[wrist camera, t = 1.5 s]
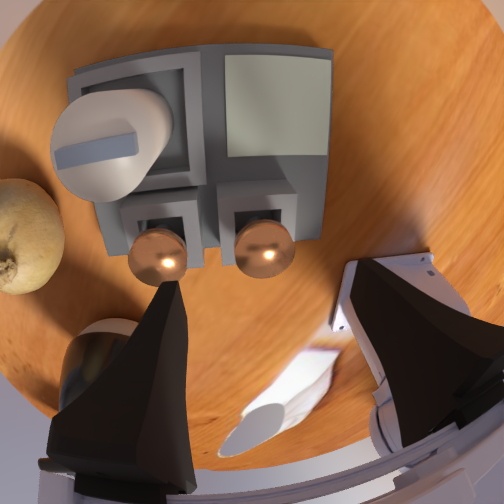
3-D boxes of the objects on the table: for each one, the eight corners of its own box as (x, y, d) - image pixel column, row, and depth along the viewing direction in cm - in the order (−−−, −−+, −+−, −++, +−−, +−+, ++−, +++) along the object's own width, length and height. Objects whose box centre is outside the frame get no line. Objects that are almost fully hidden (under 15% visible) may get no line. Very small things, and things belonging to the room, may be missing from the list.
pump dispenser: (74, 284, 20) (13, 462, 7) (193, 316, 23) (200, 505, 10) (77, 355, 24) (50, 488, 12) (170, 378, 28) (171, 513, 15)
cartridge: (172, 83, 12) (144, 80, 7) (177, 155, 14) (157, 200, 9) (100, 96, 12) (36, 109, 6) (109, 164, 14) (57, 214, 9)
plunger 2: (282, 200, 15) (297, 225, 13) (280, 246, 16) (292, 275, 14) (229, 203, 15) (233, 229, 12) (231, 249, 16) (236, 281, 14)
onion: (42, 277, 19) (8, 340, 13) (-16, 211, 15) (-66, 260, 9) (96, 224, 17) (55, 291, 12) (28, 141, 13) (-40, 179, 7)
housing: (323, 51, 13) (351, 46, 10) (313, 228, 20) (332, 258, 17) (84, 69, 12) (54, 69, 9) (114, 244, 18) (98, 278, 15)
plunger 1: (186, 207, 14) (182, 233, 12) (192, 253, 16) (190, 284, 14) (135, 212, 14) (121, 239, 12) (145, 257, 16) (135, 288, 13)
